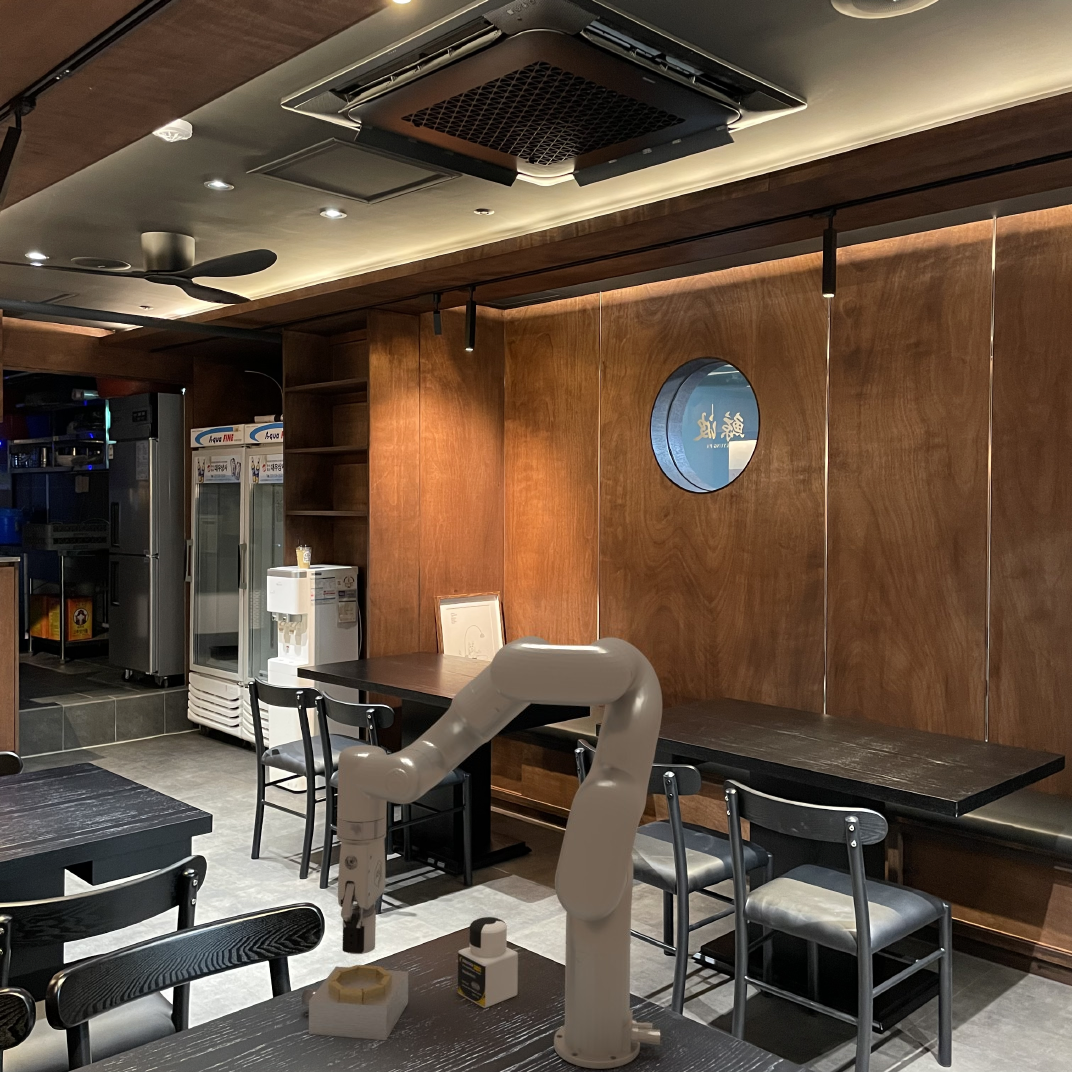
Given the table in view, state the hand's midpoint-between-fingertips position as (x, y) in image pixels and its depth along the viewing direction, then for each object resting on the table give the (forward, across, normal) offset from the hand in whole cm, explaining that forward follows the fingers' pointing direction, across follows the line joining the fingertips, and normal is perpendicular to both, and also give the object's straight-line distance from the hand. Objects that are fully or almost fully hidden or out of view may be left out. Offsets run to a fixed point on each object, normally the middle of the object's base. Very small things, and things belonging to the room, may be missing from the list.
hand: (359, 943), depth 156 cm
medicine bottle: (+12, +11, -18) cm, 24 cm away
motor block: (+12, 0, +1) cm, 12 cm away
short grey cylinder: (+1, 0, 0) cm, 1 cm away
